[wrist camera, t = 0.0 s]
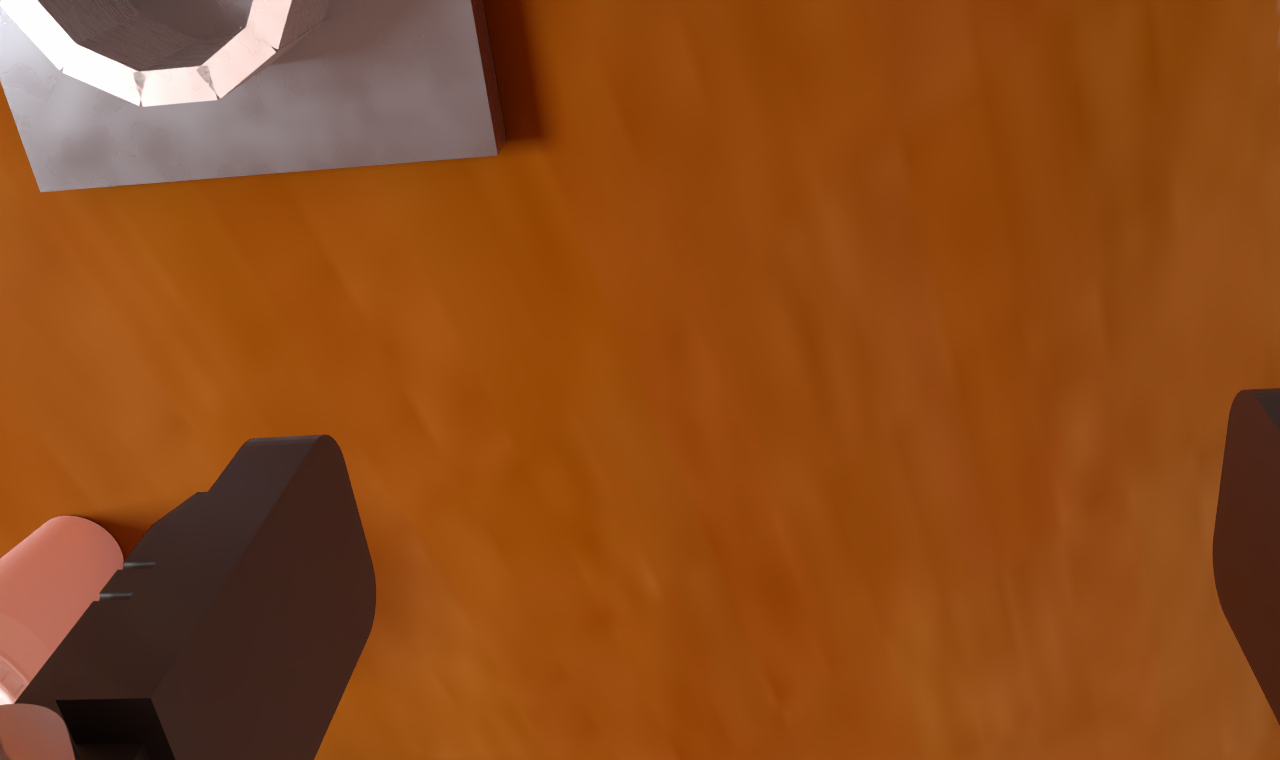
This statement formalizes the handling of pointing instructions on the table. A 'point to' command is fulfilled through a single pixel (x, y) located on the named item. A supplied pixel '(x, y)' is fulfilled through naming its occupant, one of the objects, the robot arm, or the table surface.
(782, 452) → the table surface
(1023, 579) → the table surface
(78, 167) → the sleeve stand
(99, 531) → the smoothie
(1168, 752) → the table surface
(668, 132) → the table surface
